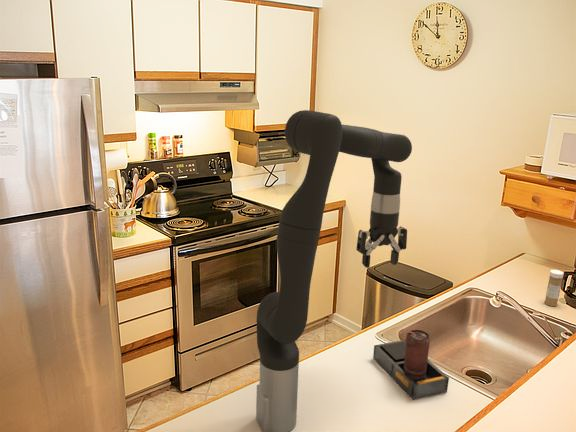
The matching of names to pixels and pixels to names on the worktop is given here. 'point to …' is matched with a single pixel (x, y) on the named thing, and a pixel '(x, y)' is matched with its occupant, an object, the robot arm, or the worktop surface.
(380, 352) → the dark grey open box
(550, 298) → the sprinkles bottle
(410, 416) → the worktop surface
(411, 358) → the can
